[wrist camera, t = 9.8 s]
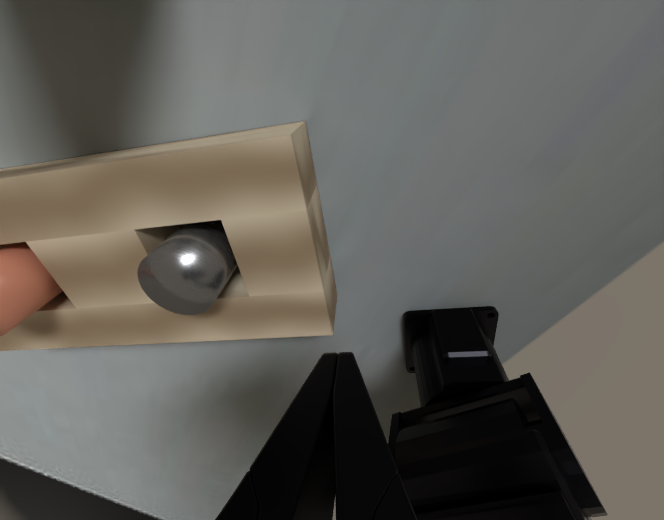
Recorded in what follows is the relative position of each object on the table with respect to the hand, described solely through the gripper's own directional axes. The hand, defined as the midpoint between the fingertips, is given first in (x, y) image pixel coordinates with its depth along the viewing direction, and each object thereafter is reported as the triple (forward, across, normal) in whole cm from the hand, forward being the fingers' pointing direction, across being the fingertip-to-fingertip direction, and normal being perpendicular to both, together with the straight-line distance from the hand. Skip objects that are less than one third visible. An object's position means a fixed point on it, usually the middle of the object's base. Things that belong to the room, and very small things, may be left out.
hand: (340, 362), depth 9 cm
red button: (+11, +21, +1) cm, 24 cm away
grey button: (+11, +9, +1) cm, 15 cm away
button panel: (+12, +15, +1) cm, 19 cm away
